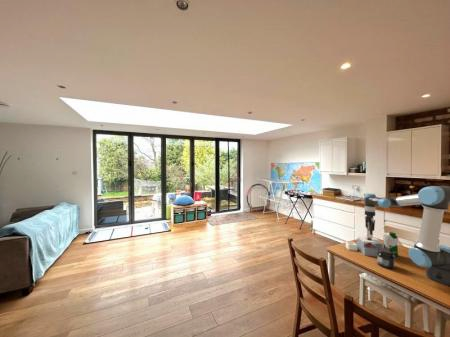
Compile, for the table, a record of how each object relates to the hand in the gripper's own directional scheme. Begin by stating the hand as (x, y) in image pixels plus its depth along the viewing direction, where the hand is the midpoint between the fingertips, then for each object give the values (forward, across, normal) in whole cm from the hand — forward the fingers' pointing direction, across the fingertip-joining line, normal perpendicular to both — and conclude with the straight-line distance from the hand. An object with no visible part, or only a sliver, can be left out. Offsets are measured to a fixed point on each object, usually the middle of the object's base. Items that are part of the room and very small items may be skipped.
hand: (369, 236), depth 165 cm
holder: (+14, +4, +13) cm, 19 cm away
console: (+14, 0, 0) cm, 14 cm away
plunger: (+13, 0, 0) cm, 13 cm away
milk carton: (+14, -1, -15) cm, 21 cm away
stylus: (+7, 0, 0) cm, 7 cm away
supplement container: (+14, -23, -1) cm, 27 cm away
